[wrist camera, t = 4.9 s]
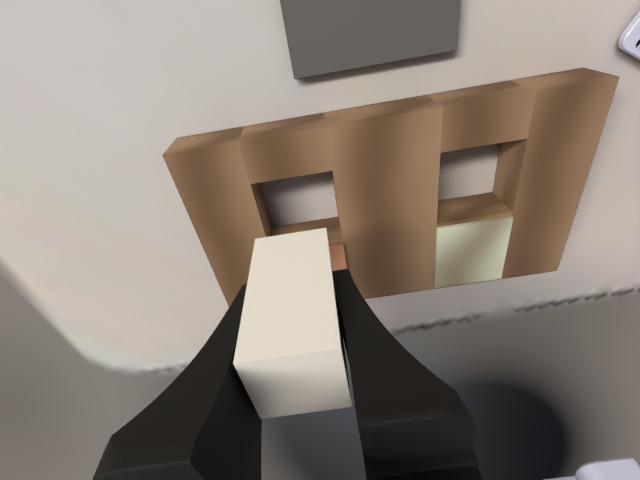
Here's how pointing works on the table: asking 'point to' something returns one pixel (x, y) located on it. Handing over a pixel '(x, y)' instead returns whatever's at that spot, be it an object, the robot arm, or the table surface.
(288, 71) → the table surface
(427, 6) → the grey square plate
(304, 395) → the plug
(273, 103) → the table surface
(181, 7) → the table surface
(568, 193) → the socket block
